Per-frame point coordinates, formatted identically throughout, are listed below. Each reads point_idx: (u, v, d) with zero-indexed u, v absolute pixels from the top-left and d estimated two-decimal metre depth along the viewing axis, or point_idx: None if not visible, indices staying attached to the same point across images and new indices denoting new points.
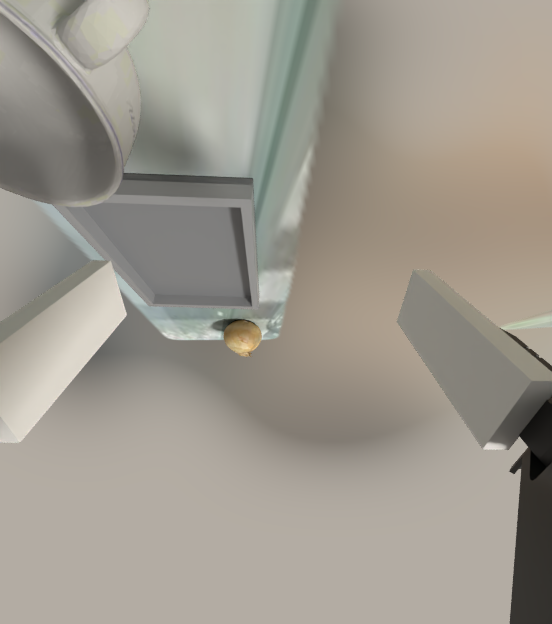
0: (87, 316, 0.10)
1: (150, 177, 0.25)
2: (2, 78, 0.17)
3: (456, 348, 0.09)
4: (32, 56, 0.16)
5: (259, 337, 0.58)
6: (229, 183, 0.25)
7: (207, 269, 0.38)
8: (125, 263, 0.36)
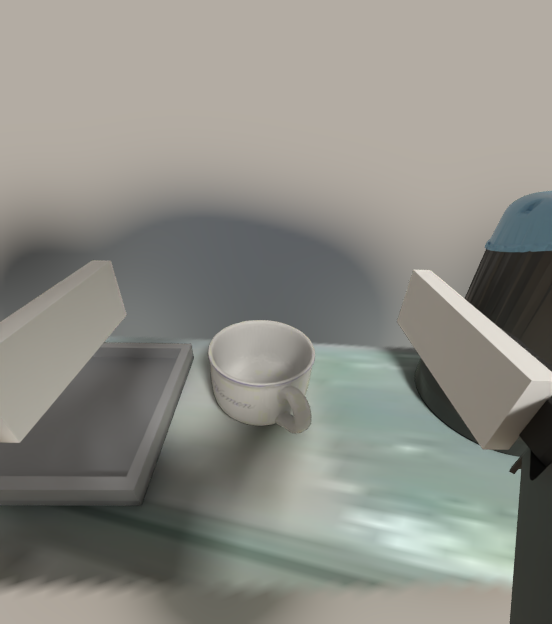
0: (87, 316, 0.10)
1: (173, 410, 0.30)
2: (249, 367, 0.35)
3: (456, 348, 0.09)
4: None
5: None
6: (148, 475, 0.24)
7: None
8: None
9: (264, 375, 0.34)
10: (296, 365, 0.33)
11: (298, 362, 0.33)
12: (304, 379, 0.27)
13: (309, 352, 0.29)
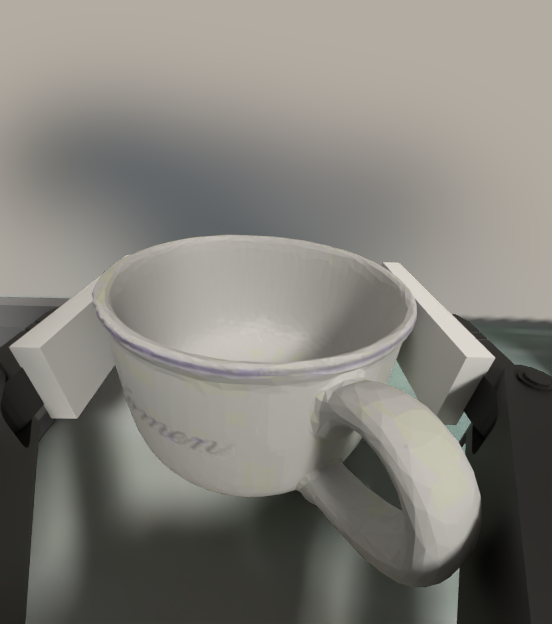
0: None
1: None
2: (237, 343, 0.17)
3: (414, 333, 0.10)
4: None
5: None
6: None
7: None
8: None
9: (267, 359, 0.16)
10: (340, 338, 0.15)
11: (345, 329, 0.14)
12: (393, 360, 0.08)
13: (388, 293, 0.11)
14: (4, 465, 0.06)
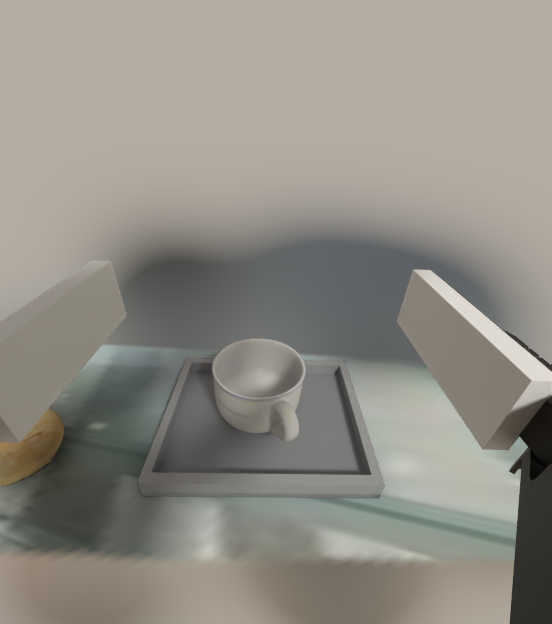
0: (87, 316, 0.10)
1: None
2: (249, 379, 0.39)
3: (456, 348, 0.09)
4: (254, 395, 0.37)
5: None
6: None
7: (242, 432, 0.34)
8: None
9: (262, 387, 0.39)
10: (290, 379, 0.37)
11: (292, 376, 0.37)
12: (295, 394, 0.31)
13: (301, 369, 0.33)
14: None
